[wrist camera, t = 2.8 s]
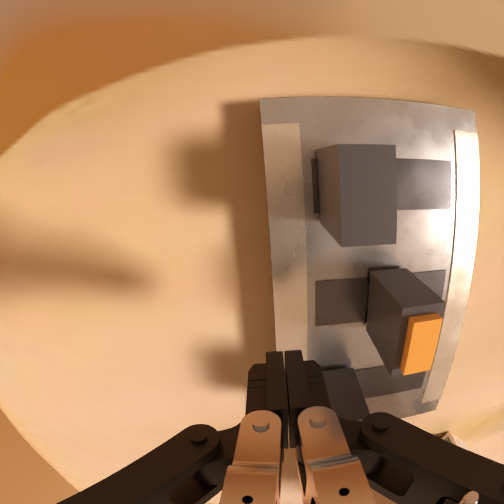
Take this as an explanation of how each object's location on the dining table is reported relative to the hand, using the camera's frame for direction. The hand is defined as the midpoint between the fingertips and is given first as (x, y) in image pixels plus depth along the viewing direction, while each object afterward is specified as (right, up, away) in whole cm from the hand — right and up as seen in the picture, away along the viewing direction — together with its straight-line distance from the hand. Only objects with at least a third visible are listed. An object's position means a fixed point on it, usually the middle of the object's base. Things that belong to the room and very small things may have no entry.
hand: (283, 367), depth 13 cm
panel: (+7, +3, +7) cm, 10 cm away
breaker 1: (+3, +9, +4) cm, 10 cm away
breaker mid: (+7, +2, +5) cm, 9 cm away
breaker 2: (+5, -5, +8) cm, 10 cm away
